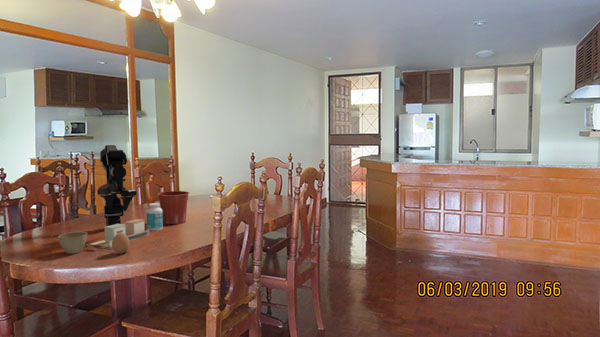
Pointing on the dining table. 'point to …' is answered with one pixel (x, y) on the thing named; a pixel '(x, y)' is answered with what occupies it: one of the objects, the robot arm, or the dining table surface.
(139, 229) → the carton
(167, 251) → the dining table surface
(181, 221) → the flower pot
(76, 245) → the bowl
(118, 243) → the egg
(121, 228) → the pale green block
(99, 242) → the shelf
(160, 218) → the pill bottle
